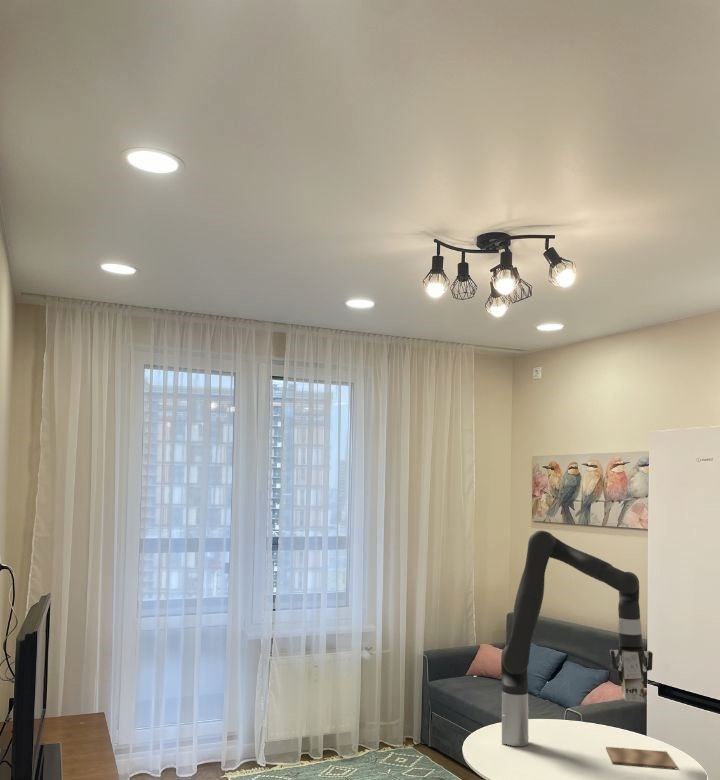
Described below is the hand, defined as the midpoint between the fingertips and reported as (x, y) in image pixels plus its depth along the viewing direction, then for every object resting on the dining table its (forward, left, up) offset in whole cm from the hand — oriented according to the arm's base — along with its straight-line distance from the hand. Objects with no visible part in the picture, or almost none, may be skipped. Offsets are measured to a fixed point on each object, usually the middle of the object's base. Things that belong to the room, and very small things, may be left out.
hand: (632, 682), depth 256 cm
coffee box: (0, 0, -5) cm, 5 cm away
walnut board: (+2, 0, -25) cm, 25 cm away
